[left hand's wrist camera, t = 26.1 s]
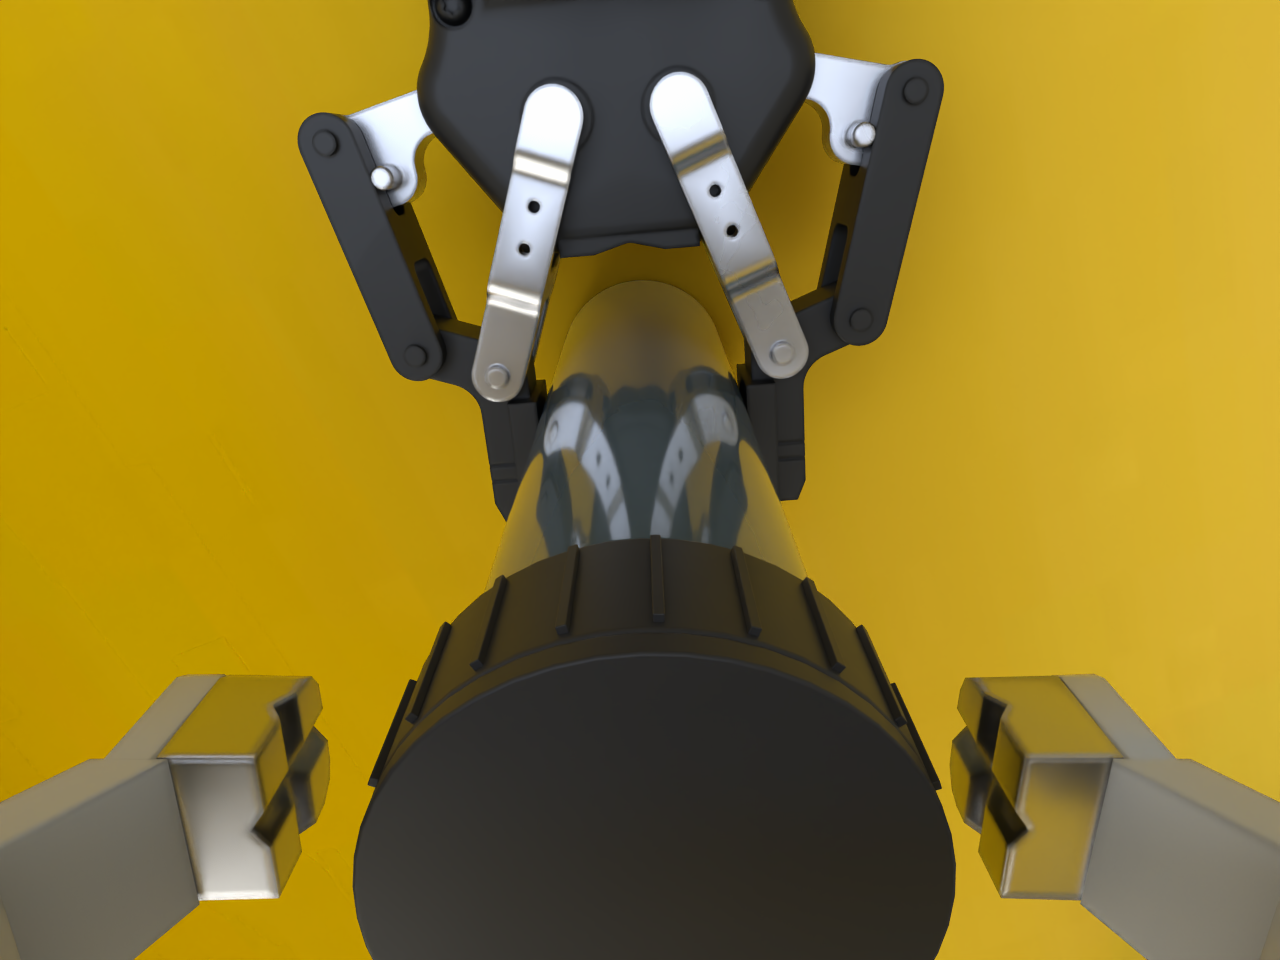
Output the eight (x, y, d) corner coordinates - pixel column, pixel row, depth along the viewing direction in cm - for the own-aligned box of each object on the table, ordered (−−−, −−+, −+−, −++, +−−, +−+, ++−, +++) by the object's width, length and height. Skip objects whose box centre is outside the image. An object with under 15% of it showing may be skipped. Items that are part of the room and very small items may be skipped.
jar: (696, 257, 26) (825, 573, 8) (740, 408, 28) (926, 939, 10) (541, 308, 27) (341, 707, 9) (593, 452, 29) (518, 1032, 11)
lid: (581, 425, 9) (563, 518, 7) (1006, 701, 10) (1099, 848, 8) (314, 800, 11) (238, 963, 9) (703, 994, 12) (718, 1175, 10)
